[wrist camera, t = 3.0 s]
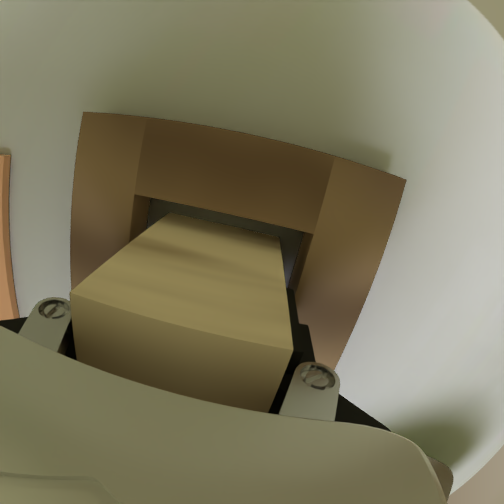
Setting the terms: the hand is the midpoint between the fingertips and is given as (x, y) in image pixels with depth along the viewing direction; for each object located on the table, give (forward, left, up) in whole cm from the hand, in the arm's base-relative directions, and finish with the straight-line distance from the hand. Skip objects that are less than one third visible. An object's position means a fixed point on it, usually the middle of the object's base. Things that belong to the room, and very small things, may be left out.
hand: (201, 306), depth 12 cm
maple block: (0, 0, -3) cm, 3 cm away
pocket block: (0, 0, -3) cm, 3 cm away
